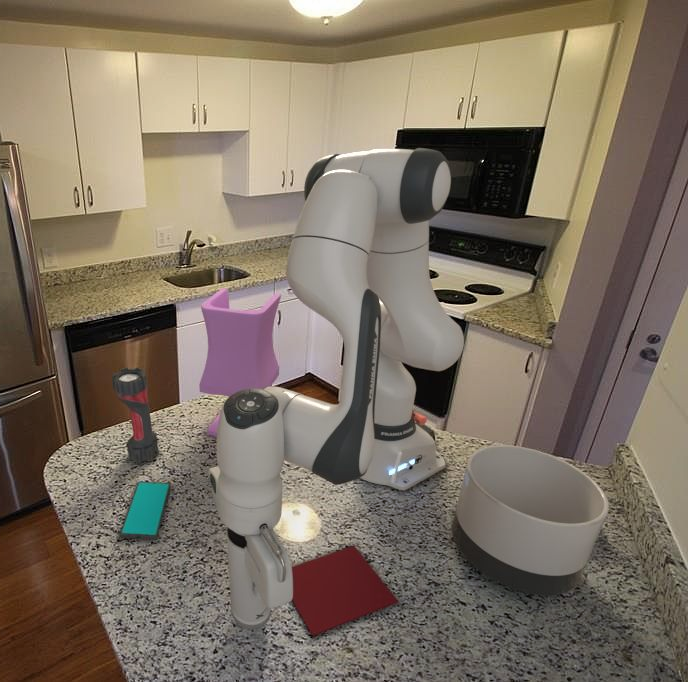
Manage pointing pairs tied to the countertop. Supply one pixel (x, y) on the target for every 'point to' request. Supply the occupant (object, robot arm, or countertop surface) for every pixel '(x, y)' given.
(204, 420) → the countertop surface
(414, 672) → the countertop surface
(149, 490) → the smartphone
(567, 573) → the planter
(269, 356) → the vase
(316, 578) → the napkin
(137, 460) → the flashlight
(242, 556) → the travel mug
